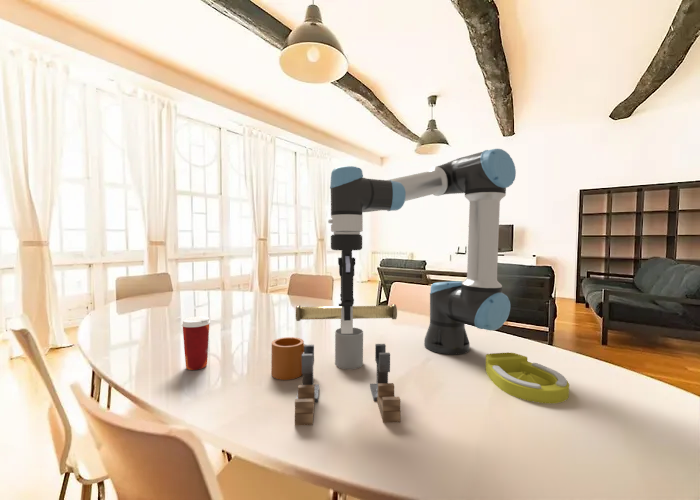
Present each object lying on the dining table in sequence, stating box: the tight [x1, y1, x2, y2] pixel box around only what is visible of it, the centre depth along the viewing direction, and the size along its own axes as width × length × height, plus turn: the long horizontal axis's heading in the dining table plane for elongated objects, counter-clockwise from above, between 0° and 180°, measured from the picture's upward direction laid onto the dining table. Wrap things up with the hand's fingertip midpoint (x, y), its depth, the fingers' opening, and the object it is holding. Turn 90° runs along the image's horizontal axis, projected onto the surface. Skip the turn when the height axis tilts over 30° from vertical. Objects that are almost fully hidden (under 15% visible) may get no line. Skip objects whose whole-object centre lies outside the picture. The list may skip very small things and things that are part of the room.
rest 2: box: [376, 382, 401, 424], centre depth 69 cm, size 4×8×5 cm, turn 3°
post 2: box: [369, 343, 396, 402], centre depth 78 cm, size 5×7×11 cm
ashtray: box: [484, 352, 570, 404], centre depth 84 cm, size 16×21×5 cm
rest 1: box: [294, 384, 316, 427], centre depth 68 cm, size 4×8×5 cm, turn 3°
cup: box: [334, 327, 364, 370], centre depth 96 cm, size 8×8×10 cm
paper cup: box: [181, 315, 211, 371], centre depth 94 cm, size 8×8×14 cm
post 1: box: [295, 344, 320, 403], centre depth 77 cm, size 5×7×11 cm
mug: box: [270, 336, 315, 381], centre depth 89 cm, size 9×12×9 cm
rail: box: [295, 303, 398, 322], centre depth 77 cm, size 24×4×4 cm, turn 93°
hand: (346, 330), depth 77 cm, fingers closed on rail, 3 cm apart
